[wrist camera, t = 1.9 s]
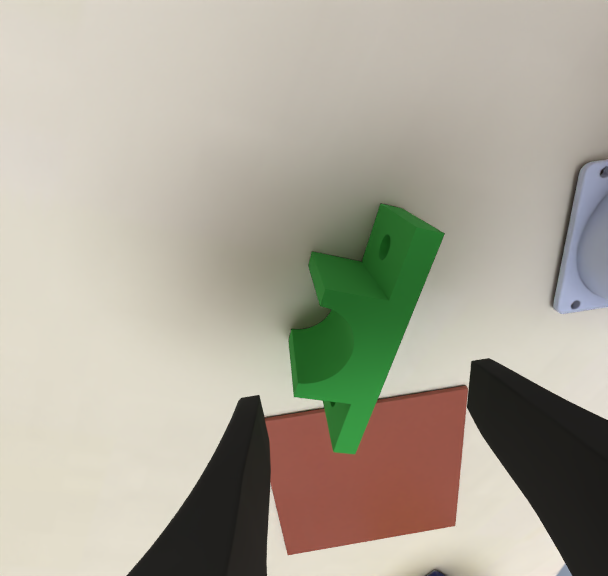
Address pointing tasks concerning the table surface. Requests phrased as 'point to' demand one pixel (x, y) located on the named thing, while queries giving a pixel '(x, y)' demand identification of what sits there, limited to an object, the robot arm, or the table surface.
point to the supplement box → (435, 573)
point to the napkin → (369, 472)
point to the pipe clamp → (361, 321)
